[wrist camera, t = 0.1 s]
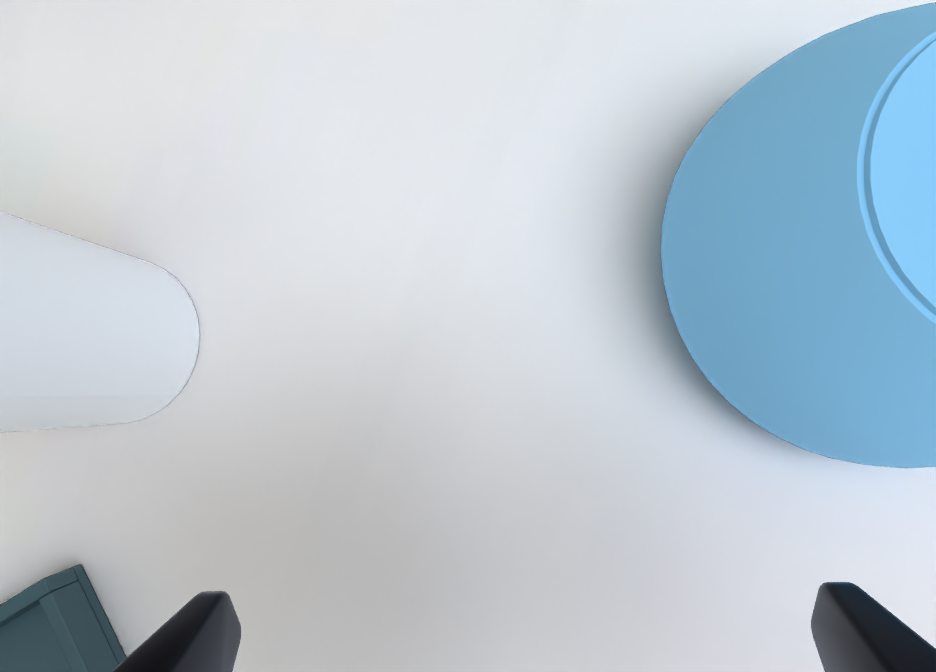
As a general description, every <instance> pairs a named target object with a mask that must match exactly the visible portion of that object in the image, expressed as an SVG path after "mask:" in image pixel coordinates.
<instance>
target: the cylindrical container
mask: <svg viewBox="0 0 936 672" xmlns="http://www.w3.org/2000/svg"><path fill="white" fill-rule="evenodd" d="M199 337H200V332H199V324H198V316H197V314H196V311H195V308H194V305H193V302H192V300H191V298H190V297H189V295H188V293H187V291H186V290H185V288H184V287H183V286H182V285H181V284H180V282H179V281H178V280H177V279H176V278H175V277H174V276H172V275H171V274H170V273H168V272H167V271H166V270H164V269H163V268H161V267H159V266H156V265H154V264H152V263H150V262H147V261H144V260H141V259H138V258H135V257H132V256H129V255H126V254H123V253H120V252H118V251H115V250H112V249H109V248H106V247H103V246H100V245H97V244H94V243H91V242H88V241H85V240H82V239H79V238H76V237H73V236H70V235H68V234H65V233H62V232H59V231H56V230H53V229H50V228H47V227H44V226H41V225H38V224H35V223H32V222H29V221H26V220H23V219H20V218H17V217H15V216H12V215H9V214H6V213H3V212H0V433H3V432H16V431H29V430H43V429H56V428H70V427H83V426H97V425H110V424H123V423H128V422H134V421H139V420H141V419H144V418H146V417H148V416H151V415H153V414H155V413H156V412H158V411H159V410H161V409H162V408H164V407H165V406H167V405H168V404H169V403H170V402H171V401H172V400H173V399H174V398H175V397H176V396H177V395H178V394H179V393H180V391H181V390H182V388H183V387H184V386H185V384H186V383H187V381H188V379H189V377H190V375H191V373H192V371H193V369H194V366H195V362H196V358H197V355H198V351H199Z"/></svg>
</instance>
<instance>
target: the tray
mask: <svg viewBox="0 0 936 672" xmlns="http://www.w3.org/2000/svg"><path fill="white" fill-rule="evenodd" d="M125 659H126V657H125V655H124V653H123V651H122V649H121V646H120V644H119V642H118V640H117V638H116V636H115V634H114V632H113V630H112V628H111V626H110V624H109V621H108V619H107V617H106V615H105V613H104V611H103V609H102V607H101V605H100V603H99V601H98V599H97V597H96V594H95V592H94V590H93V588H92V586H91V584H90V582H89V580H88V578H87V576H86V574H85V572H84V569H83V567H82V565H77V566H74V567H72V568H69V569H67V570H64V571H62V572H59V573H56V574H54V575H51V576H49V577H46V578H44V579H42V580H40V581H39V582H37V583H35V584H34V585H32V586H30V587H29V588H27V589H26V590H24V591H22V592H21V593H19V594H17V595H16V596H14V597H12V598H11V599H9V600H8V601H6V602H4V603H3V604H1V605H0V672H112V671H113V670H114V669H115V668H116V667H117V666H118V665H119V664H120V663H122V662H123V661H124V660H125Z"/></svg>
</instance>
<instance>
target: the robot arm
mask: <svg viewBox="0 0 936 672" xmlns="http://www.w3.org/2000/svg"><path fill="white" fill-rule="evenodd" d="M811 629H812V634H813V638H814V641H815V644H816V647H817V650H818V653H819V656H820V659H821V662H822V664H823V667H824V670H825V672H936V649H935V648H934V647H933V646H932V645H930V644H929V643H928V642H927V641H925V640H924V639H923V638H922V637H920V636H919V635H918V634H917V633H915V632H914V631H913V630H912V629H911V628H909V627H908V626H907V625H906V624H904V623H903V622H902V621H901V620H899V619H898V618H897V617H896V616H894V615H893V614H892V613H891V612H889V611H888V610H887V609H886V608H884V607H883V606H882V605H881V604H879V603H878V602H877V601H876V600H874V599H873V598H872V597H871V596H869V595H868V594H867V593H866V592H864V591H863V590H862V589H861V588H859V587H858V586H856V585H855V584H853V583H849V582H826V583H823V584H822V585H821V586H820V587H819V590H818V594H817V598H816V602H815V606H814V610H813V614H812V619H811ZM240 639H241V625H240V622H239V619H238V617H237V614H236V612H235V609H234V606H233V604H232V601H231V599H230V596H229V595H228V594H227V593H226V592H224V591H206V592H201V593H199V594H198V595H196V596H195V597H194V598H193V599H191V600H190V601H189V602H188V603H187V604H186V605H185V606H184V607H183V608H181V609H180V610H179V611H178V612H177V613H176V614H175V615H174V616H173V617H171V618H170V619H169V620H168V621H167V622H166V623H165V624H164V625H163V626H161V627H160V628H159V629H158V630H157V631H156V632H155V633H154V634H153V635H152V636H150V637H149V638H148V639H147V640H146V641H145V642H144V643H143V644H142V645H140V646H139V647H138V648H137V649H136V650H135V651H134V652H133V653H132V654H130V655H129V656H128V657H127V658H126V659H125V660H124V661H123V662H122V663H120V664H119V665H118V666H117V667H116V668H115V669H114V670H113V671H112V672H232V671H233V667H234V663H235V659H236V655H237V652H238V648H239V644H240Z"/></svg>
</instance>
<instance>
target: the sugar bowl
mask: <svg viewBox="0 0 936 672" xmlns="http://www.w3.org/2000/svg"><path fill="white" fill-rule="evenodd" d="M661 260H662V270H663V280H664V285H665V290H666V294H667V298H668V302H669V306H670V310H671V313H672V315H673V318H674V321H675V323H676V326H677V328H678V331H679V333H680V336H681V338H682V340H683V341H684V343H685V345H686V347H687V349H688V351H689V352H690V354H691V356H692V358H693V360H694V361H695V362H696V364H697V365H698V367H699V368H700V369H701V371H702V372H703V373H704V375H705V376H706V377H707V379H708V380H709V382H710V383H711V384H712V385H713V386H714V387H715V388H716V389H717V390H718V391H719V392H720V393H721V394H722V395H723V397H724V398H725V399H726V400H727V401H728V402H729V403H730V404H732V405H733V406H734V407H735V408H736V409H738V410H739V411H740V412H741V413H742V414H744V415H745V416H746V417H747V418H749V419H750V420H751V421H753V422H754V423H756V424H757V425H759V426H760V427H762V428H764V429H765V430H767V431H768V432H770V433H771V434H773V435H775V436H777V437H779V438H781V439H783V440H785V441H787V442H789V443H791V444H793V445H795V446H798V447H800V448H802V449H805V450H808V451H811V452H814V453H817V454H820V455H823V456H826V457H829V458H834V459H839V460H844V461H849V462H853V463H858V464H865V465H872V466H884V467H897V468H920V467H936V2H935V3H929V4H924V5H919V6H914V7H910V8H905V9H901V10H897V11H892V12H888V13H884V14H880V15H875V16H873V17H870V18H867V19H865V20H862V21H859V22H856V23H854V24H851V25H848V26H846V27H843V28H840V29H838V30H835V31H833V32H830V33H828V34H825V35H823V36H821V37H819V38H817V39H815V40H813V41H812V42H810V43H808V44H806V45H804V46H802V47H800V48H798V49H796V50H795V51H793V52H791V53H790V54H788V55H786V56H785V57H783V58H782V59H780V60H779V61H777V62H776V63H774V64H773V65H771V66H770V67H768V68H767V69H765V70H764V71H763V72H761V73H760V74H758V75H757V76H756V77H754V78H753V79H752V80H751V81H749V82H748V83H747V84H745V85H744V86H743V87H742V88H741V89H740V90H739V91H738V92H736V93H735V94H734V95H733V96H732V97H731V98H730V99H729V100H727V101H726V102H725V103H724V104H723V106H722V107H721V108H720V109H719V110H718V111H717V113H716V114H715V115H714V116H713V117H712V118H711V119H710V121H709V122H708V123H707V124H706V125H705V127H704V128H703V129H702V131H701V132H700V133H699V135H698V136H697V138H696V139H695V141H694V142H693V144H692V145H691V147H690V148H689V150H688V151H687V153H686V154H685V157H684V159H683V161H682V163H681V165H680V167H679V169H678V171H677V173H676V175H675V177H674V180H673V183H672V187H671V190H670V193H669V196H668V199H667V202H666V208H665V213H664V219H663V225H662V240H661Z"/></svg>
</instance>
